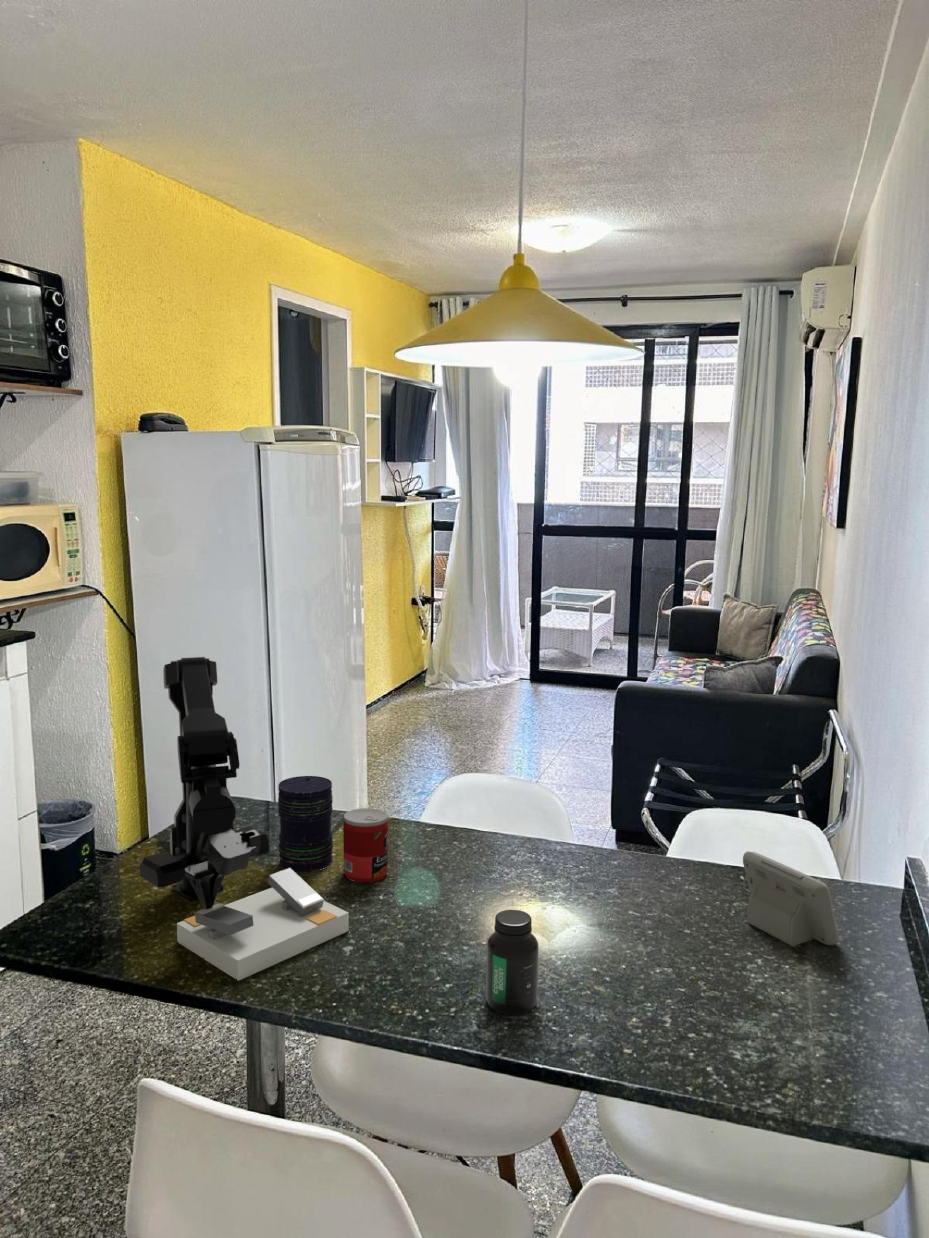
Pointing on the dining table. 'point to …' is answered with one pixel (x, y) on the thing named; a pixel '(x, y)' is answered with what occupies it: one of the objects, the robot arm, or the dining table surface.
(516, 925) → the supplement bottle
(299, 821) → the storage jar
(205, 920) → the block
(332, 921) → the switch base
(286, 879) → the rocker
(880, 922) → the dining table surface
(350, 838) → the canned food
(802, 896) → the digital clock
